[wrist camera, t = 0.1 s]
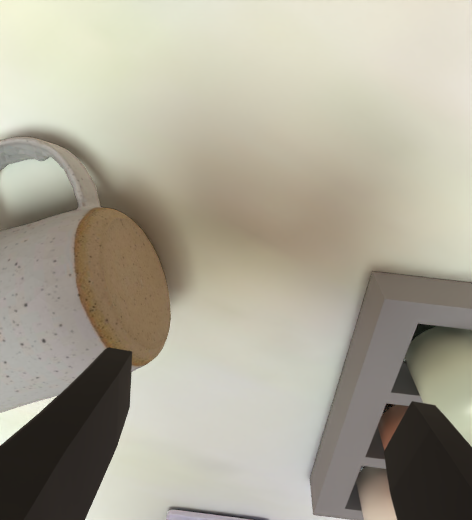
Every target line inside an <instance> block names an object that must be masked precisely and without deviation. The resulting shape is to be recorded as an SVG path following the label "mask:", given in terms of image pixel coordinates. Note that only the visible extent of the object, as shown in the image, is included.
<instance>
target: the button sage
mask: <svg viewBox="0 0 472 520" xmlns="http://www.w3.org/2000/svg"><path fill="white" fill-rule="evenodd" d="M405 360H406V364H407V366H408V369H409V371H410V373H411V376H412V378H413V380H414V383H415V385H416V387H417V390H418V392H419V394H420V397H421V399H422V401H423V403H426V404H432V405H436V407H437V408H438V409H439V410H440V411H441V412H442V413H443V414H444V415H445V416H446V418H447V419H448V420H449V421H450V422H451V423H452V424H453V426H454V427H455V428H456V429H457V430H458V431H459V433H460V434H461V435H462V436H463V437H464V438H465V440H466V441H467V442H468V443H469V444H470V446H471V447H472V330H469V329H461V328H452V327H444V326H438V327H434V328H431V329H429V330H426V331H424V332H423V333H421V334H420V335H418V336H417V337H416V338H415V339H414V340H413V341H412V342H411V343H410V345H409V348H408V350H407V353H406V355H405Z"/></svg>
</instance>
